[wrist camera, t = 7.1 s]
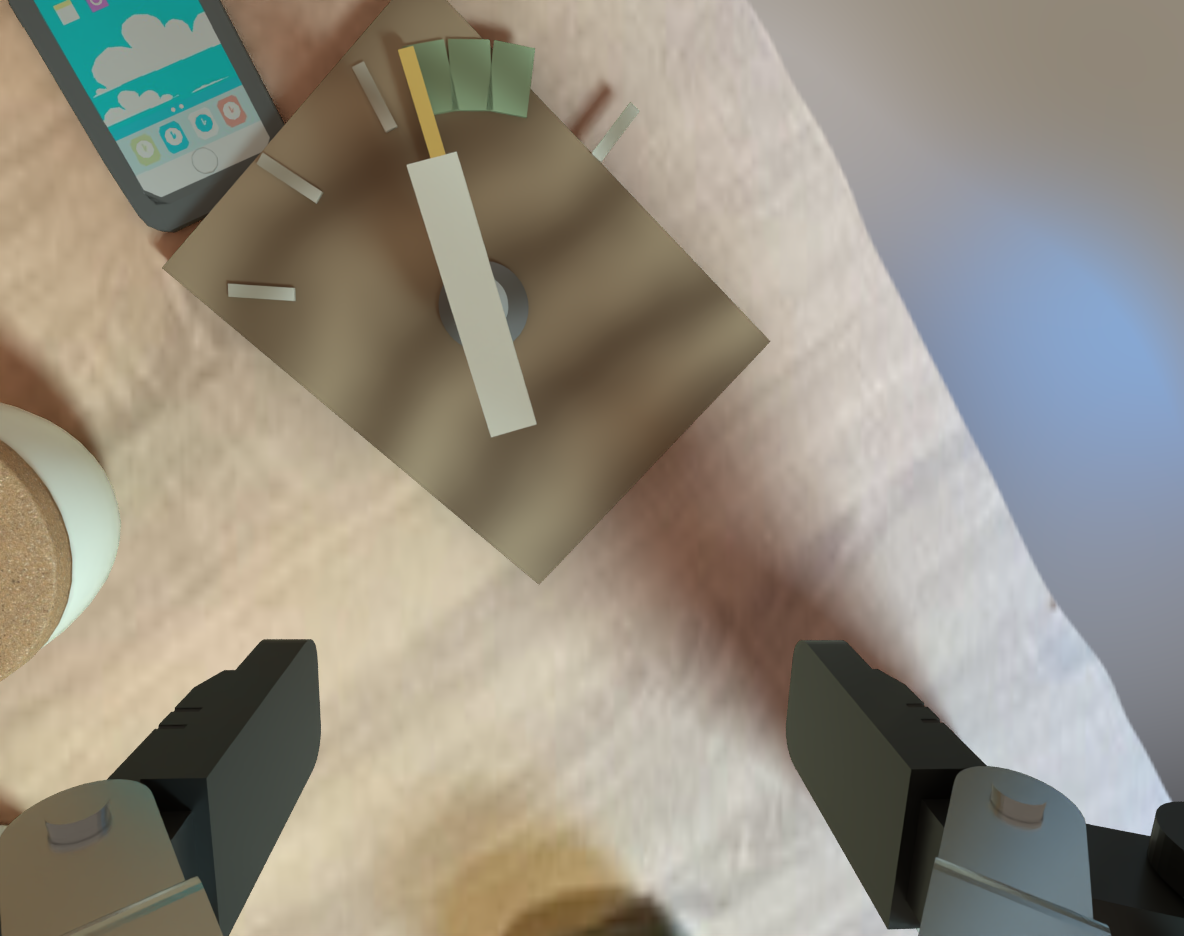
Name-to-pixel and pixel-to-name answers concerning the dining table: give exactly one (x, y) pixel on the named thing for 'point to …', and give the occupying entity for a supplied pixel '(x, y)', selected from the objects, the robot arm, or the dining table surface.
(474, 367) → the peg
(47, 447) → the lidded bowl
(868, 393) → the dining table surface
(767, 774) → the dining table surface
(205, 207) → the smartphone
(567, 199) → the tuner board
